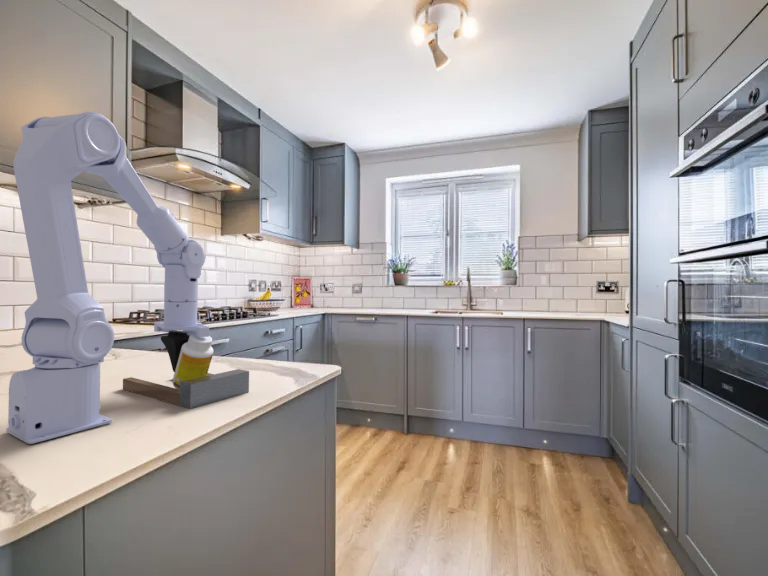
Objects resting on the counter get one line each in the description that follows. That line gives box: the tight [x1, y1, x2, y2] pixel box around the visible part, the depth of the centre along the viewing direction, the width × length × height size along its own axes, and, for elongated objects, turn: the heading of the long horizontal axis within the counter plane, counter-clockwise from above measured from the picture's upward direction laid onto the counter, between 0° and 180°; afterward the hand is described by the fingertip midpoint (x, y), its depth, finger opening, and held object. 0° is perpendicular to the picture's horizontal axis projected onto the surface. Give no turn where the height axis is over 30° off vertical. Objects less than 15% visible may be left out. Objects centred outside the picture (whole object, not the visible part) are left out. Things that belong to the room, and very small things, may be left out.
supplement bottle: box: [171, 334, 214, 390], centre depth 73 cm, size 6×6×10 cm
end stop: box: [178, 368, 250, 409], centre depth 69 cm, size 12×3×4 cm, turn 150°
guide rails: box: [122, 372, 215, 406], centre depth 74 cm, size 12×18×2 cm, turn 60°
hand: (179, 371), depth 75 cm, fingers closed
